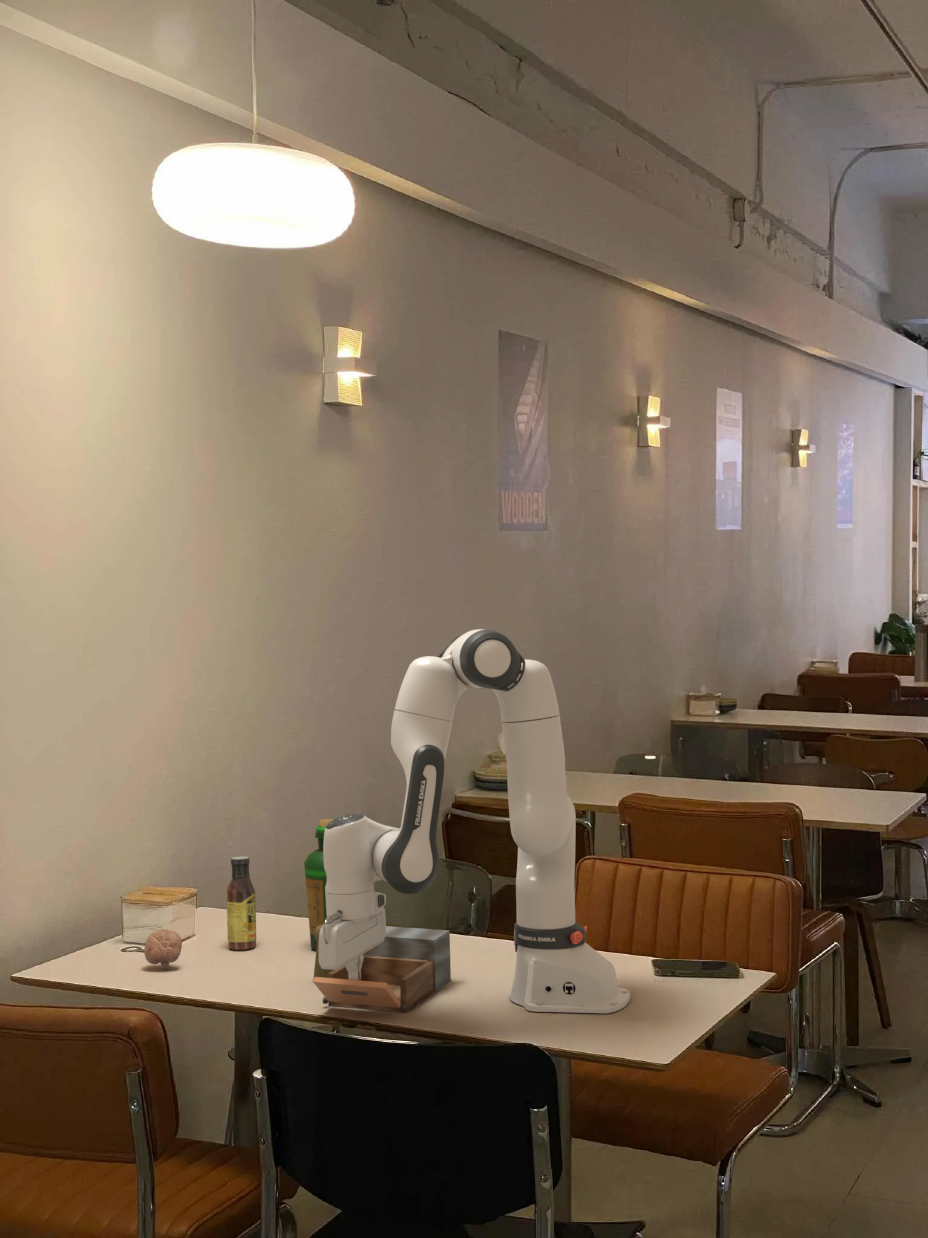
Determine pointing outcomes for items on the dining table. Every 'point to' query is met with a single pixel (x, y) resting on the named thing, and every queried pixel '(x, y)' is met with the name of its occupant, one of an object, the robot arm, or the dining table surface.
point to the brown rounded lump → (163, 947)
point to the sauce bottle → (241, 907)
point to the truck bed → (405, 966)
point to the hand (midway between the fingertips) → (354, 980)
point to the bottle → (316, 883)
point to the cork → (318, 970)
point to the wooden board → (357, 992)
